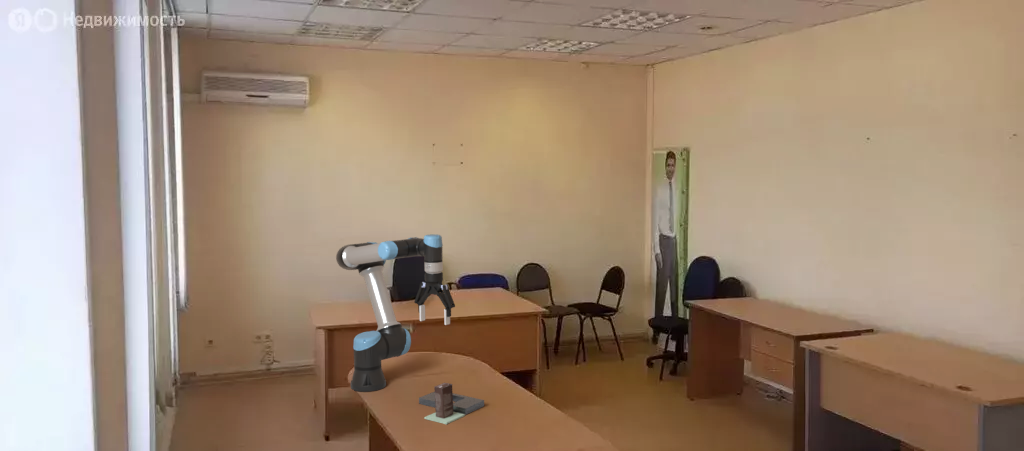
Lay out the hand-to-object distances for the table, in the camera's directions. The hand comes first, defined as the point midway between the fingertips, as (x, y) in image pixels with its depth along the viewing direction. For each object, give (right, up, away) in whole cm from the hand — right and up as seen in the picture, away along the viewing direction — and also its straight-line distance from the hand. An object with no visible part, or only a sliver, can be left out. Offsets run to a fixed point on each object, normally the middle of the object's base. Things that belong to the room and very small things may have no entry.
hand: (434, 322), depth 311 cm
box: (+6, -33, -25) cm, 42 cm away
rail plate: (+8, -32, -11) cm, 34 cm away
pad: (+6, -33, -25) cm, 42 cm away
